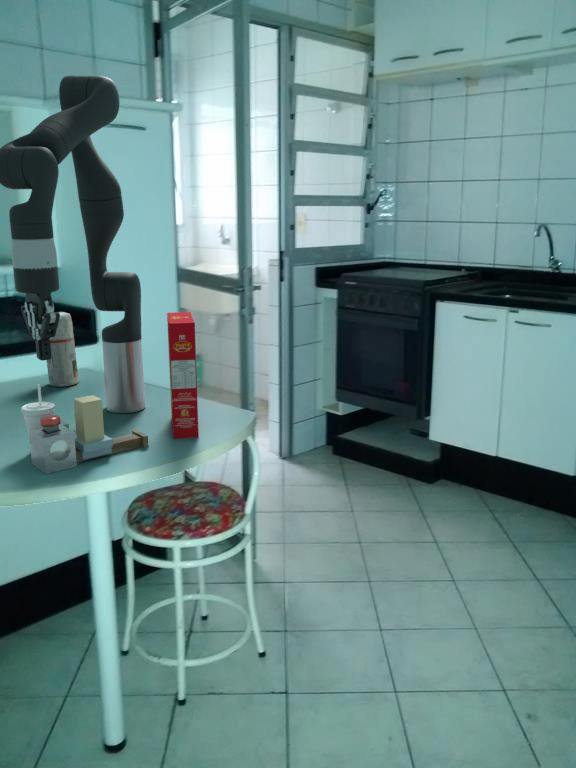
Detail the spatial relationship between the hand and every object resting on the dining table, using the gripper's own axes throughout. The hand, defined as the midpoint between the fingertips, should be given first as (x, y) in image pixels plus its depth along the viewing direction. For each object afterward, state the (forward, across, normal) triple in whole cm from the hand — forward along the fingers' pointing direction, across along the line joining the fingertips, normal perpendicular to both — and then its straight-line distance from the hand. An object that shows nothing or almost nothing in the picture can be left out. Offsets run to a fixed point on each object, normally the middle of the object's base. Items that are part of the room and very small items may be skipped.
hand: (44, 359), depth 127 cm
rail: (+21, 0, -10) cm, 23 cm away
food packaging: (+21, +3, -31) cm, 38 cm away
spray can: (+22, +58, -26) cm, 68 cm away
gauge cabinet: (+21, 0, 0) cm, 21 cm away
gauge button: (+19, 0, 0) cm, 19 cm away
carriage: (+21, +4, -7) cm, 22 cm away
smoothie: (+21, +8, -1) cm, 23 cm away
